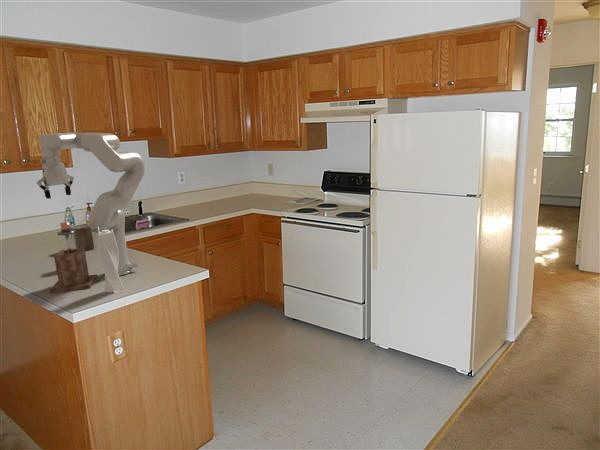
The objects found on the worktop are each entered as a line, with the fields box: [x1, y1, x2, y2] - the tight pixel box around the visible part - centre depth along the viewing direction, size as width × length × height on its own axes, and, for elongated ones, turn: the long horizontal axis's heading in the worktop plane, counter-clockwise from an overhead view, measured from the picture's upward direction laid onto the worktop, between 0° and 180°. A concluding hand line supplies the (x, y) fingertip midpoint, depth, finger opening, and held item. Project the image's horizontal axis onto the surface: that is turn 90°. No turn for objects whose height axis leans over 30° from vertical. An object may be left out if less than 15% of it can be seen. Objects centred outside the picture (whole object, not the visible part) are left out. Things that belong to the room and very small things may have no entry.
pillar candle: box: [72, 224, 95, 252], centre depth 267 cm, size 10×10×15 cm
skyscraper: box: [97, 227, 125, 294], centre depth 193 cm, size 8×8×28 cm
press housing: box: [49, 247, 99, 293], centre depth 204 cm, size 16×15×16 cm
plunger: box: [57, 221, 75, 253], centre depth 202 cm, size 7×7×18 cm
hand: (58, 196), depth 220 cm, fingers open, 9 cm apart
